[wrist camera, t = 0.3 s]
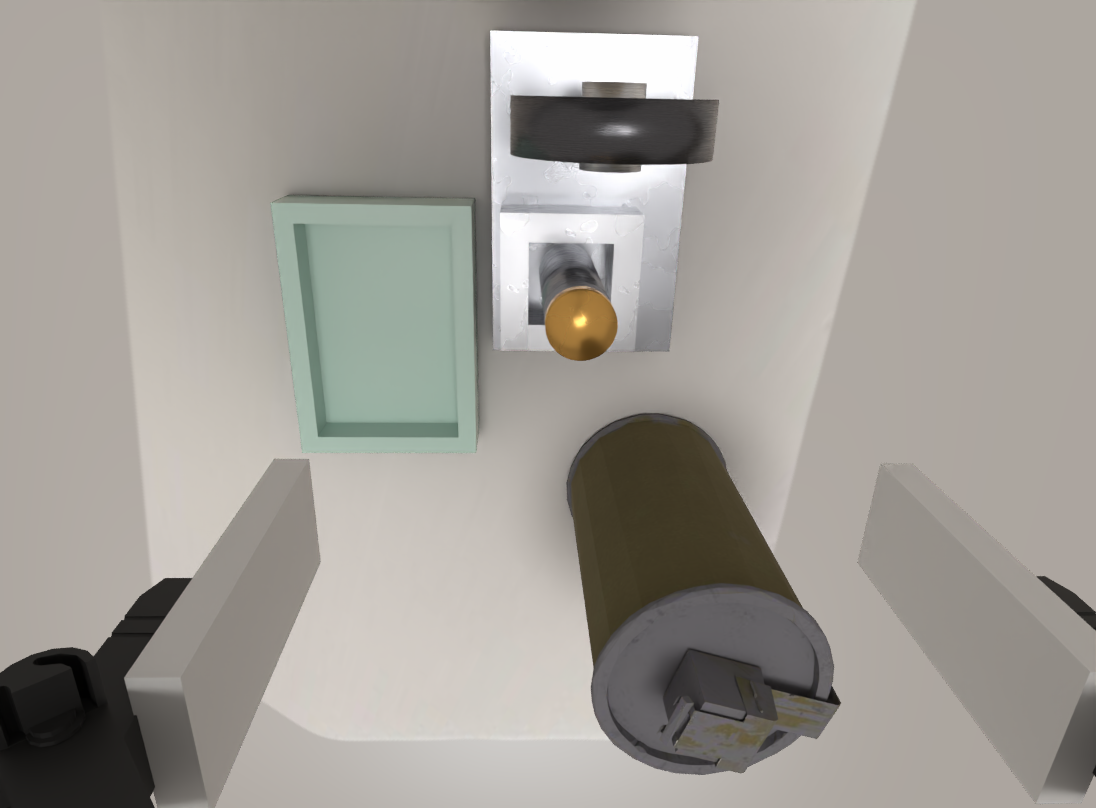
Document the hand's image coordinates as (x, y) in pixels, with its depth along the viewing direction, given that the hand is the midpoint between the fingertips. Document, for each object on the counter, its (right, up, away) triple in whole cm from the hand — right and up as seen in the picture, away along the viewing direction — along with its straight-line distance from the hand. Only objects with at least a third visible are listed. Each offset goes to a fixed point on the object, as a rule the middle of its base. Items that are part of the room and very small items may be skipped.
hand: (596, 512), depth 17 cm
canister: (+5, -3, +30) cm, 31 cm away
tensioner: (+1, +14, +23) cm, 26 cm away
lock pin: (0, +10, +22) cm, 24 cm away
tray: (-10, +7, +25) cm, 28 cm away
